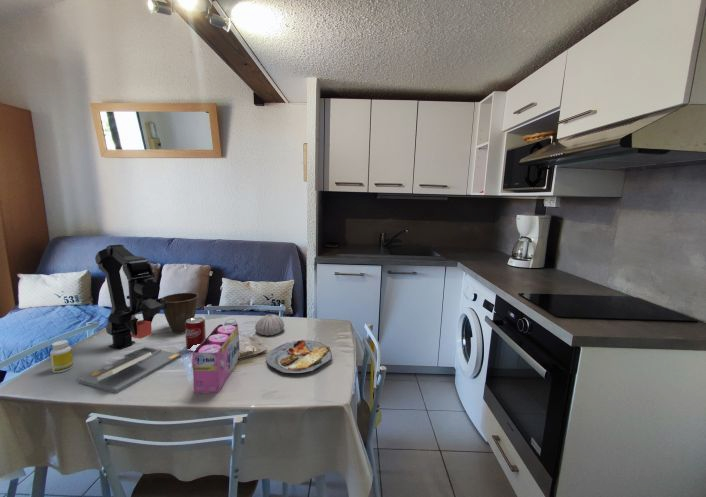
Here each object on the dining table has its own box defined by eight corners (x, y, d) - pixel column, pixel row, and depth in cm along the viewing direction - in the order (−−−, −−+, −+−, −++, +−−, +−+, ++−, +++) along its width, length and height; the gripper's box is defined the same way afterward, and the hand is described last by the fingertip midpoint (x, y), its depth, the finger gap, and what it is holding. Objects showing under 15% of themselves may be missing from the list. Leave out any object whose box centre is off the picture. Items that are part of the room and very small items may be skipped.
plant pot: (156, 331, 139) (154, 297, 137) (189, 321, 151) (187, 290, 149) (172, 339, 131) (170, 304, 129) (205, 329, 143) (204, 296, 141)
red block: (131, 337, 112) (130, 322, 111) (142, 332, 116) (142, 318, 115) (140, 338, 110) (139, 324, 110) (151, 334, 115) (151, 319, 114)
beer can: (227, 346, 126) (226, 319, 124) (239, 346, 127) (238, 318, 125) (223, 351, 121) (222, 323, 120) (235, 351, 122) (234, 323, 120)
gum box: (220, 356, 118) (219, 322, 116) (241, 355, 119) (240, 322, 117) (193, 393, 95) (191, 352, 93) (219, 392, 95) (217, 352, 93)
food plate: (301, 339, 134) (301, 332, 134) (343, 356, 121) (343, 347, 120) (254, 363, 114) (254, 354, 114) (297, 386, 101) (297, 376, 100)
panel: (78, 382, 98) (77, 373, 98) (147, 350, 121) (146, 342, 121) (117, 393, 93) (116, 382, 93) (181, 357, 116) (180, 348, 116)
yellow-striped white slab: (98, 380, 96) (96, 377, 96) (137, 361, 108) (135, 358, 108) (113, 374, 94) (111, 370, 94) (152, 354, 106) (150, 351, 106)
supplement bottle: (77, 366, 108) (74, 340, 106) (58, 374, 103) (55, 347, 101) (67, 363, 109) (64, 338, 108) (48, 371, 104) (45, 344, 103)
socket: (124, 358, 112) (124, 355, 111) (145, 349, 119) (145, 346, 119) (141, 362, 109) (141, 359, 109) (161, 352, 117) (161, 349, 117)
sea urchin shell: (260, 339, 133) (259, 322, 132) (251, 329, 145) (251, 313, 143) (288, 333, 141) (288, 317, 140) (278, 324, 152) (278, 308, 151)
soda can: (197, 353, 120) (196, 324, 118) (182, 350, 121) (180, 322, 120) (210, 345, 127) (208, 317, 125) (194, 343, 128) (193, 316, 127)
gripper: (129, 302, 100) (133, 347, 102) (177, 288, 117) (179, 326, 120) (105, 298, 103) (109, 342, 105) (155, 285, 121) (157, 322, 123)
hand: (141, 332), depth 113 cm, fingers closed on red block, 4 cm apart
